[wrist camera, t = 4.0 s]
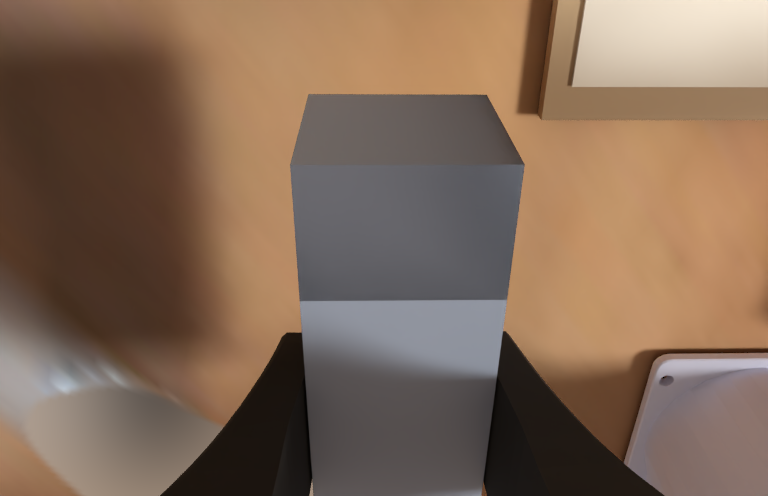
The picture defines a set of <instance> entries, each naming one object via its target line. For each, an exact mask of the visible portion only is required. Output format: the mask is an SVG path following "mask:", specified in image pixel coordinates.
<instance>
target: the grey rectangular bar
mask: <svg viewBox="0 0 768 496" xmlns="http://www.w3.org/2000/svg"><path fill="white" fill-rule="evenodd" d="M524 165H525V164H524V163H523V161H522V159H521V157H520V155H519V153H518V152H517V150H516V148H515V146H514V144H513V142H512V141H511V139H510V137H509V135H508V133H507V131H506V130H505V128H504V126H503V124H502V122H501V120H500V119H499V117H498V115H497V113H496V111H495V109H494V108H493V106H492V104H491V102H490V100H489V98H488V96H487V95H353V94H309V95H308V99H307V103H306V107H305V110H304V114H303V118H302V122H301V126H300V129H299V133H298V137H297V141H296V145H295V149H294V152H293V156H292V160H291V164H290V168H291V183H292V197H293V211H294V225H295V239H296V254H297V268H298V282H299V296H300V310H301V324H302V339H303V353H304V367H305V381H306V395H307V410H308V424H309V438H310V452H311V466H312V481H313V493H314V494H313V495H314V496H481V495H482V487H483V480H484V472H485V464H486V457H487V449H488V441H489V434H490V426H491V418H492V411H493V403H494V395H495V388H496V380H497V372H498V365H499V357H500V349H501V342H502V334H503V326H504V319H505V311H506V303H507V296H508V288H509V280H510V273H511V265H512V257H513V250H514V242H515V234H516V227H517V219H518V211H519V204H520V196H521V188H522V181H523V173H524Z"/></svg>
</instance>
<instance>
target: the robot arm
mask: <svg viewBox="0 0 768 496" xmlns="http://www.w3.org/2000/svg"><path fill="white" fill-rule="evenodd" d="M664 376H667V377H666V378H663V379H661V378H662V377H664ZM483 481H484V485H485V489H486V493H487V496H768V353H706V354H665V355H662V356H660V357H658V358H657V359H656V360H655V361H654V363H653V365H652V368H651V371H650V375H649V378H648V382H647V385H646V388H645V392H644V395H643V399H642V402H641V406H640V409H639V412H638V416H637V419H636V423H635V426H634V430H633V433H632V436H631V440H630V443H629V447H628V450H627V453H626V457H625V460H624V463H623V462H622V461H621V460H619V459H618V458H617V457H616V456H615V455H614V454H613V453H612V452H610V451H609V450H608V449H607V448H606V447H605V446H604V445H603V444H602V443H601V442H600V441H599V440H598V439H597V438H595V437H594V436H593V435H592V434H591V433H590V432H589V431H588V430H587V428H586V427H585V426H584V425H583V424H582V423H581V422H580V421H579V420H578V419H577V418H576V417H575V416H574V415H573V414H572V413H571V412H570V410H569V409H568V408H567V407H566V406H565V405H564V404H563V403H562V402H561V400H560V399H559V398H558V397H557V396H556V394H555V393H554V392H553V391H552V390H551V389H550V387H549V386H548V385H547V384H546V383H545V382H544V380H543V379H542V378H541V377H540V375H539V374H538V373H537V372H536V370H535V369H534V368H533V366H532V365H531V364H530V363H529V361H528V360H527V359H526V357H525V356H524V355H523V353H522V352H521V351H520V349H519V348H518V346H517V345H516V344H515V342H514V341H513V339H512V338H511V337H510V335H509V334H508V333H507V332H506V331H503V334H502V342H501V349H500V357H499V365H498V372H497V380H496V388H495V395H494V403H493V411H492V418H491V426H490V434H489V441H488V449H487V457H486V464H485V472H484V480H483ZM311 482H312V466H311V452H310V438H309V424H308V410H307V395H306V381H305V367H304V353H303V339H302V333H286V334H285V335H284V336H283V337H282V338H281V340H280V342H279V345H278V346H277V348H276V350H275V352H274V354H273V356H272V358H271V359H270V361H269V363H268V364H267V366H266V368H265V369H264V371H263V373H262V374H261V376H260V377H259V379H258V380H257V382H256V383H255V385H254V386H253V388H252V389H251V391H250V392H249V394H248V395H247V397H246V398H245V400H244V401H243V403H242V404H241V406H240V407H239V408H238V409H237V411H236V412H235V413H234V415H233V416H232V417H231V419H230V420H229V421H228V423H227V424H226V425H225V427H224V428H223V429H222V430H221V432H220V433H219V434H218V435H217V436H216V438H215V439H214V440H213V441H212V443H211V444H210V445H209V446H208V447H207V448H206V449H205V451H204V452H203V453H202V454H201V455H200V456H199V457H198V458H197V459H196V460H195V461H194V463H193V464H192V465H191V466H190V467H189V468H188V469H187V470H186V471H185V472H184V473H183V474H182V475H181V476H180V477H179V478H178V479H177V480H176V481H175V482H174V483H173V484H172V485H171V486H170V487H169V488H168V489H167V490H166V491H164V492H163V493H162V494H161V495H160V496H309V494H310V488H311Z"/></svg>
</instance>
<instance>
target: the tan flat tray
mask: <svg viewBox="0 0 768 496" xmlns="http://www.w3.org/2000/svg"><path fill="white" fill-rule="evenodd" d="M538 116H539V117H540V119H541V120H768V0H553V5H552V12H551V19H550V27H549V34H548V41H547V49H546V56H545V63H544V71H543V78H542V85H541V93H540V100H539V107H538Z"/></svg>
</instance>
